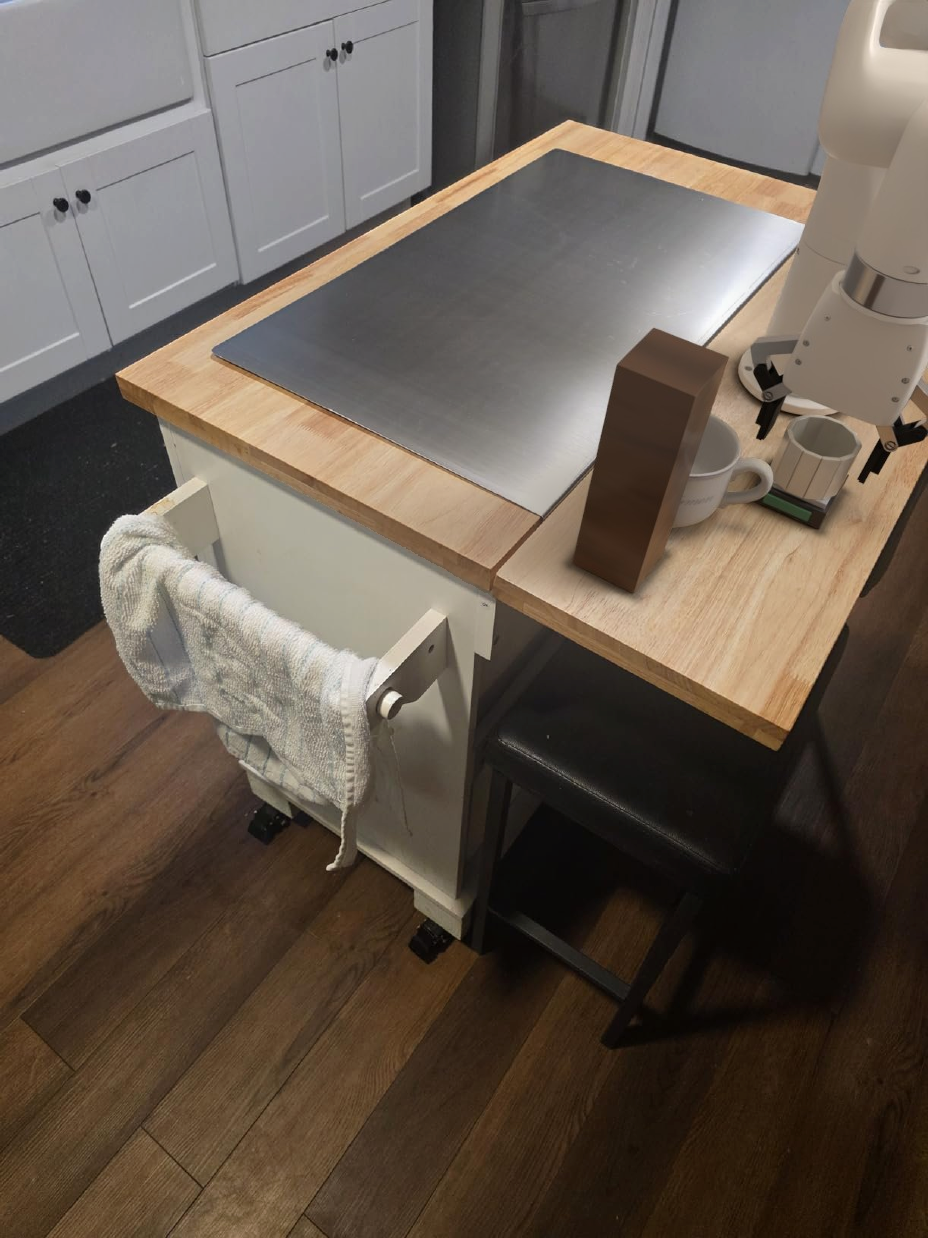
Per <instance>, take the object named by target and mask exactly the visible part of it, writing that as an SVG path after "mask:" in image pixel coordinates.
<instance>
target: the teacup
mask: <svg viewBox="0 0 928 1238" xmlns="http://www.w3.org/2000/svg"><path fill="white" fill-rule="evenodd" d="M742 450H743V447H742V443H741V439H740V437H739V435H738V433H737V432H736V431H735V429H734V428H733V427H732V426H731V425H730V424H728V423H727V422H726V421H724V419H722V418H720V417H719V416H717V415H715V414H713V413H710V416H709V419H708V422H707V425H706V428H705V431H704V434H703V437H702V440H701V443H700V446H699V449H698V452H697V454H696V457H695V460H694V463H693V466H692V469H691V472H690V475H689V478H688V481H687V484H686V487H685V490H684V493H683V496H682V499H681V502H680V505H679V508H678V511H677V514H676V517H675V520H674V523H673V526H672V529H674V528H675V529H677V528H681V527H687V526H692V525H696V524H698V523H700V522H702V521H704V520H706V519H708V518H709V517H710V516H711V515H713V513H714V512H715V511H716V510H717V509H718V510H724V509H726V508H727V507H729V506H734V505H742V504H749V503H752V502H755V500H758V499H760V498H762V497H763V496H765V495H766V494H767V493H768V492H769V490H770V489H771V486H772V484H773V472H772V469H771V467H770V466H769V464H768V462H766V461H765V460H764V459H761V458H758V457H744V458H741V457H742ZM747 472H752V473H755V474H756V475H758V476H759V478H760V477H761V480H762V481H761V483H760V484H759V485H758V486H756V485H755V486H756V487H755V486H754V487H752V488H749V489H745V490H739V491H728V488H729V486H730V483H732V482H734V481H735V480H736V479H737V478H738V477H739V476H740V475H741V474H743V473H747Z"/></svg>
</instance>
